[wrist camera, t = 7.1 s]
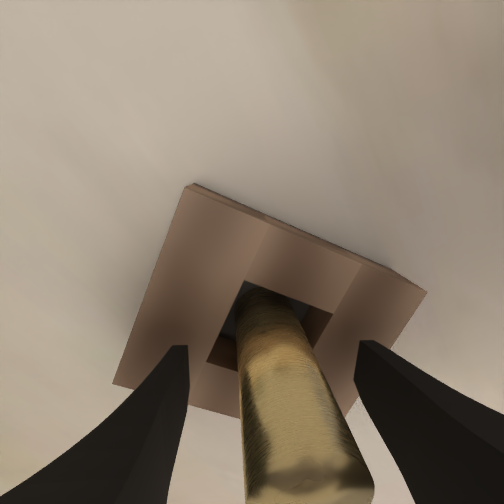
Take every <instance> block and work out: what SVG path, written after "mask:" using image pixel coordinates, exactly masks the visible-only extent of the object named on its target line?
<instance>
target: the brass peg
mask: <svg viewBox="0 0 504 504" xmlns="http://www.w3.org/2000/svg"><path fill="white" fill-rule="evenodd" d="M235 328H236V345H237V363H238V381H239V399H240V416H241V434H242V452H243V470H244V487H245V504H371V502H372V500H373V496H374V481H373V478H372V476H371V474H370V472H369V469H368V467H367V465H366V463H365V461H364V459H363V457H362V454H361V452H360V450H359V448H358V446H357V444H356V442H355V439H354V437H353V435H352V433H351V431H350V429H349V427H348V424H347V422H346V420H345V418H344V416H343V414H342V412H341V409H340V407H339V405H338V403H337V401H336V399H335V397H334V395H333V392H332V390H331V388H330V386H329V384H328V382H327V380H326V377H325V375H324V373H323V371H322V369H321V367H320V365H319V362H318V360H317V358H316V356H315V354H314V352H313V350H312V347H311V345H310V343H309V341H308V339H307V337H306V335H305V332H304V330H303V328H302V326H301V324H300V322H299V320H298V317H297V315H296V313H295V311H294V309H293V307H292V305H291V302H290V300H289V299H288V297H287V296H285V295H282V294H280V293H277V292H274V291H272V290H269V289H267V288H264V287H261V286H260V287H256V288H253V289H251V290H249V291H247V292H246V293H244V294H243V295H242V296H241V298H240V299H239V300H238V302H237V304H236V307H235Z"/></svg>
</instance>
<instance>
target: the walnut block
mask: <svg viewBox="0 0 504 504" xmlns="http://www.w3.org/2000/svg"><path fill="white" fill-rule="evenodd" d="M260 286H261V287H264V288H267V289H269V290H272V291H274V292H277V293H280V294H282V295H285V296H287V297H288V299H289V300H290V302H291V305H292V307H293V309H294V311H295V313H296V315H297V317H298V320H299V322H300V324H301V326H302V328H303V330H304V332H305V335H306V337H307V339H308V341H309V343H310V345H311V347H312V350H313V352H314V354H315V356H316V358H317V360H318V362H319V365H320V367H321V369H322V371H323V373H324V375H325V377H326V380H327V382H328V384H329V386H330V388H331V390H332V392H333V395H334V397H335V399H336V401H337V403H338V405H339V407H340V409H341V412H342V414H343V416H344V417H345V416H346V414H347V413H348V411H349V410H350V408H351V407H352V405H353V404H354V402H355V401H356V399H357V398H358V396H359V393H358V391H357V388H356V386H355V383H354V381H353V378H354V372H355V366H356V359H357V353H358V347H359V341H360V340H374V341H376V342H378V343H380V344H381V345H383V346H385V347H386V348H388V349H389V350H390V348H391V347H392V345H393V344H394V342H395V341H396V339H397V338H398V336H399V335H400V333H401V332H402V330H403V329H404V327H405V326H406V324H407V323H408V321H409V320H410V318H411V317H412V315H413V314H414V312H415V311H416V309H417V307H418V306H419V304H420V303H421V301H422V300H423V298H424V297H425V295H426V294H427V291H425V290H423V289H422V288H420V287H419V286H417V285H416V284H414V283H412V282H411V281H409V280H408V279H406V278H404V277H403V276H401V275H400V274H398V273H396V272H395V271H393V270H392V269H389V268H387V267H385V266H383V265H380V264H378V263H376V262H373V261H371V260H369V259H367V258H364V257H362V256H360V255H357V254H355V253H353V252H351V251H348V250H346V249H344V248H341V247H339V246H337V245H335V244H332V243H330V242H328V241H325V240H323V239H321V238H319V237H316V236H314V235H312V234H309V233H307V232H305V231H302V230H300V229H298V228H296V227H293V226H291V225H289V224H286V223H284V222H282V221H280V220H277V219H275V218H273V217H270V216H268V215H266V214H264V213H261V212H259V211H257V210H254V209H252V208H250V207H248V206H245V205H243V204H241V203H238V202H236V201H234V200H232V199H229V198H227V197H225V196H222V195H220V194H218V193H216V192H213V191H211V190H209V189H206V188H204V187H202V186H200V185H197V184H195V183H193V184H191V185H189V186H187V187H185V188H184V190H183V193H182V196H181V198H180V201H179V204H178V207H177V209H176V212H175V215H174V217H173V220H172V223H171V226H170V228H169V231H168V234H167V236H166V239H165V242H164V245H163V247H162V250H161V253H160V255H159V258H158V261H157V264H156V266H155V269H154V272H153V274H152V277H151V280H150V283H149V285H148V288H147V291H146V293H145V296H144V299H143V302H142V304H141V307H140V310H139V312H138V315H137V318H136V321H135V323H134V326H133V329H132V331H131V334H130V337H129V339H128V342H127V345H126V348H125V350H124V353H123V356H122V358H121V361H120V364H119V367H118V369H117V372H116V375H115V377H114V380H113V383H112V384H115V385H118V386H122V387H126V388H129V389H133V390H135V389H136V388H137V387H138V386H139V385H140V384H141V383H142V382H143V381H144V379H145V378H146V377H147V376H148V375H149V373H150V372H151V371H152V370H153V369H154V368H155V366H156V365H157V364H158V363H159V361H160V360H161V359H162V358H163V356H164V355H165V354H166V352H167V351H168V350H169V348H170V347H171V346H172V345H188V355H189V374H190V391H189V399H188V405H191V406H195V407H199V408H202V409H206V410H210V411H213V412H217V413H220V414H224V415H228V416H231V417H235V418H239V419H241V416H240V399H239V381H238V363H237V345H236V328H235V307H236V304H237V302H238V300H239V299H240V298H241V296H242V295H243V294H244V293H246V292H247V291H249V290H251V289H253V288H256V287H260Z"/></svg>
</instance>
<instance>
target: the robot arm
mask: <svg viewBox="0 0 504 504" xmlns="http://www.w3.org/2000/svg"><path fill="white" fill-rule="evenodd" d="M353 381H354V383H355V386H356V388H357V391H358V393H359V396H360V398H361V400H362V403H363V405H364V407H365V408H366V410H367V412H368V414H369V416H370V417H371V419H372V421H373V423H374V425H375V426H376V428H377V430H378V432H379V433H380V435H381V437H382V439H383V441H384V442H385V444H386V446H387V448H388V449H389V451H390V453H391V455H392V456H393V458H394V460H395V462H396V464H397V466H398V468H399V470H400V471H401V473H402V475H403V477H404V480H405V482H406V484H407V486H408V488H409V491H410V493H411V495H412V497H413V499H414V501H415V504H504V415H503V414H501V413H499V412H497V411H495V410H493V409H491V408H488V407H486V406H485V405H483V404H481V403H479V402H477V401H475V400H473V399H471V398H469V397H467V396H465V395H463V394H461V393H460V392H458V391H456V390H454V389H452V388H451V387H449V386H447V385H445V384H444V383H442V382H440V381H439V380H437V379H435V378H433V377H432V376H430V375H429V374H427V373H425V372H424V371H422V370H421V369H419V368H417V367H416V366H414V365H413V364H411V363H410V362H408V361H406V360H405V359H403V358H402V357H400V356H399V355H397V354H396V353H394V352H393V351H391V350H389V349H388V348H386V347H385V346H383V345H381V344H380V343H378V342H376V341H374V340H360V341H359V347H358V353H357V359H356V366H355V372H354V378H353ZM189 391H190V374H189V355H188V345H172V346H171V347H170V348H169V350H168V351H167V352H166V354H165V355H164V356H163V358H162V359H161V360H160V361H159V363H158V364H157V365H156V366H155V368H154V369H153V370H152V371H151V372H150V373H149V375H148V376H147V377H146V378H145V379H144V381H143V382H142V383H141V384H140V385H139V386H138V387H137V388H136V389H135V390H134V391H133V392H132V394H131V395H130V396H129V397H128V398H127V399H126V400H125V401H124V402H123V403H122V404H121V405H120V406H119V407H118V408H117V409H116V410H115V411H114V412H113V413H112V414H111V415H109V416H108V417H107V418H106V419H105V420H104V421H103V422H102V423H101V424H99V425H98V426H97V427H96V428H95V429H94V430H92V431H91V432H90V433H89V434H88V435H86V436H85V437H84V438H83V439H81V440H80V441H79V442H78V443H76V444H75V445H74V446H73V447H71V448H70V449H69V450H68V451H66V452H65V453H64V454H62V455H61V456H59V457H58V458H57V459H55V460H54V461H53V462H51V463H50V464H48V465H47V466H46V467H44V468H43V469H41V470H40V471H38V472H37V473H36V474H34V475H33V476H31V477H30V478H28V479H27V480H25V481H24V482H22V483H21V484H19V485H18V486H16V487H15V488H13V489H11V490H10V491H8V492H7V493H5V494H3V495H2V496H0V504H166V503H167V496H168V490H169V485H170V480H171V476H172V471H173V467H174V463H175V459H176V455H177V451H178V447H179V442H180V438H181V434H182V430H183V426H184V421H185V417H186V413H187V406H188V399H189Z"/></svg>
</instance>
